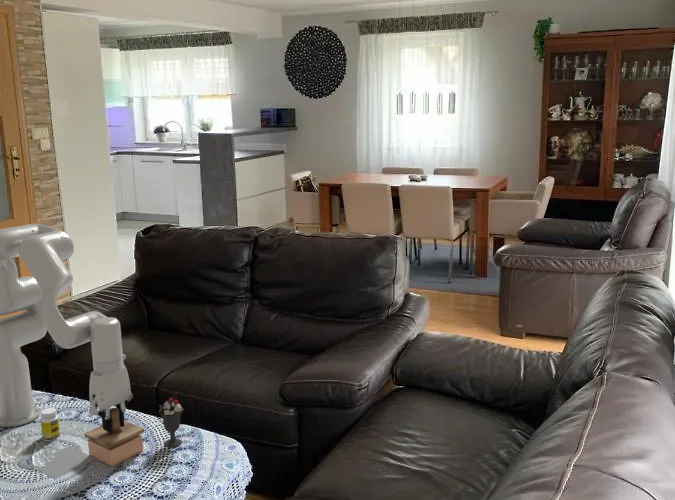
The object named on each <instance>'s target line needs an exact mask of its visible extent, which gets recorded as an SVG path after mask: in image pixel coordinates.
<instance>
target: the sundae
mask: <svg viewBox="0 0 675 500" xmlns="http://www.w3.org/2000/svg"><path fill="white" fill-rule="evenodd" d="M178 393H179V392H178V391H175V393H174V395H173V396H172V397H170V398H169V399H168V400H166V401H165V402H164V403H163V406H162V404H159V405H158V406H159V410H158V412H157V414H159V416H161V418H162V423H163V427H164V430H165V431H166V432H168V433H170V434H169V435H170V439H167V440H166V441H165V442H164V443H163V445H164V447H166V448H169V449H172V448H177V447H180V446H181V445H182V444H183V440H182V439H180V438H176V434H175V433H176V432H177V431H178V430H179V429H180V426H181V425H180V424H181V415H182V412H183V411H184V408H183V406H182V405H181V404H180V403H179V400H177V394H178ZM174 397H175V399H174Z"/></svg>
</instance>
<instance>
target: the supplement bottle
mask: <svg viewBox="0 0 675 500" xmlns="http://www.w3.org/2000/svg"><path fill="white" fill-rule="evenodd" d="M57 413H58V412H57V409H56V407H47V408H44V409H43V410H41V412H40V414H41V418H40V426H41V427H40V428H41V429H40V431H41V438H42V440H43V441H46V442H50V441H54V440H58V439H59V438H60V437H61V430H60V420H59V415H58V414H57Z"/></svg>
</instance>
